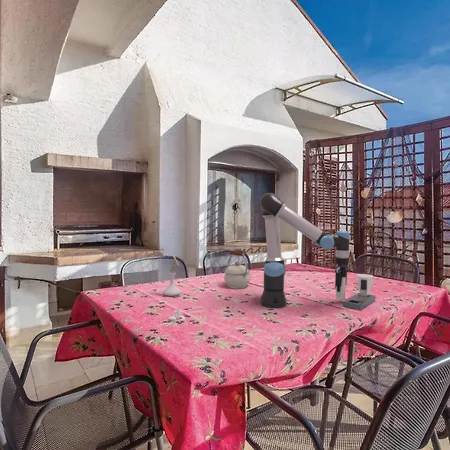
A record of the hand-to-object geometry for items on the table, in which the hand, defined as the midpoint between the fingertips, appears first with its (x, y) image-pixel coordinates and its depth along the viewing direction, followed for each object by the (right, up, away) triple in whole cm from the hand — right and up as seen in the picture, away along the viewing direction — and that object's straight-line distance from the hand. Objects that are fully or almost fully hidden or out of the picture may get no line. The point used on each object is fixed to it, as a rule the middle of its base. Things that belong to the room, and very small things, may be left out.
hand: (340, 296), depth 199 cm
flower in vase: (-102, -2, +16) cm, 103 cm away
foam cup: (+21, -3, +17) cm, 27 cm away
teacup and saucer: (-96, -5, -30) cm, 100 cm away
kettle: (-61, -1, +41) cm, 73 cm away
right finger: (0, -2, 0) cm, 2 cm away
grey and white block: (+11, -4, -2) cm, 11 cm away
